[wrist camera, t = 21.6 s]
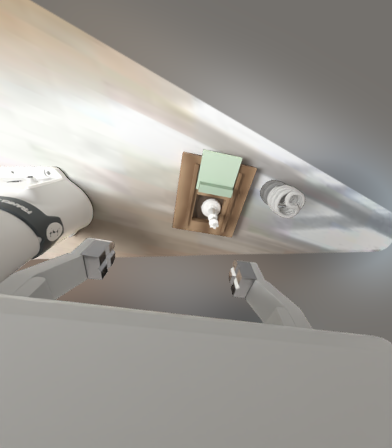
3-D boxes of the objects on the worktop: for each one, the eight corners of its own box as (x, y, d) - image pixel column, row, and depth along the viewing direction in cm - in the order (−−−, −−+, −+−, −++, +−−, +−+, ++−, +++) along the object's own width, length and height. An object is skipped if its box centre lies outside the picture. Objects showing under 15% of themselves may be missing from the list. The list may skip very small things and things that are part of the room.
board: (173, 223, 43) (171, 229, 40) (183, 151, 34) (182, 153, 31) (229, 232, 44) (232, 239, 41) (253, 166, 35) (258, 169, 33)
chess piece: (201, 199, 39) (201, 217, 30) (220, 198, 39) (227, 216, 30) (201, 216, 41) (202, 238, 33) (220, 216, 41) (226, 237, 32)
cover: (195, 187, 35) (195, 192, 32) (203, 149, 31) (204, 150, 28) (230, 194, 36) (233, 199, 33) (241, 157, 32) (246, 159, 29)
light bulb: (281, 192, 38) (313, 213, 28) (259, 202, 40) (281, 226, 29) (275, 171, 36) (307, 185, 26) (251, 183, 37) (273, 201, 27)
